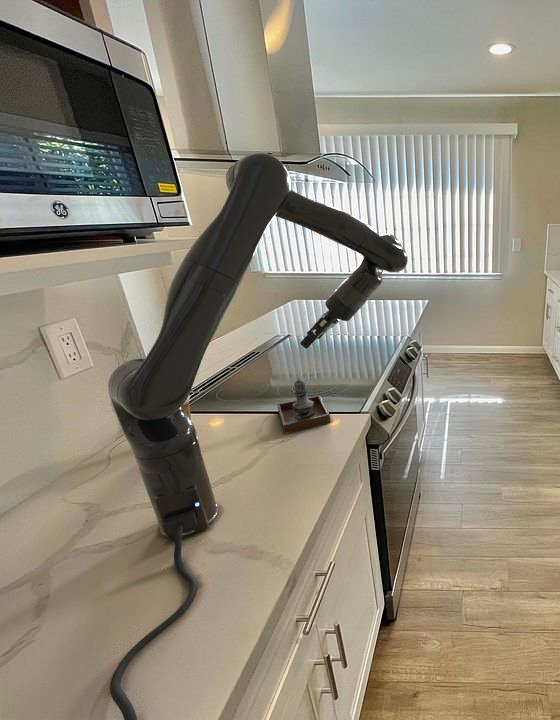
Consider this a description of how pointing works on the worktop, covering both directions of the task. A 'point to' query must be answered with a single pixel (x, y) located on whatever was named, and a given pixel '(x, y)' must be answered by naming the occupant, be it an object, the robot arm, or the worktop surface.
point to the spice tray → (295, 424)
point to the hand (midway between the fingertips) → (309, 341)
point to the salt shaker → (302, 401)
